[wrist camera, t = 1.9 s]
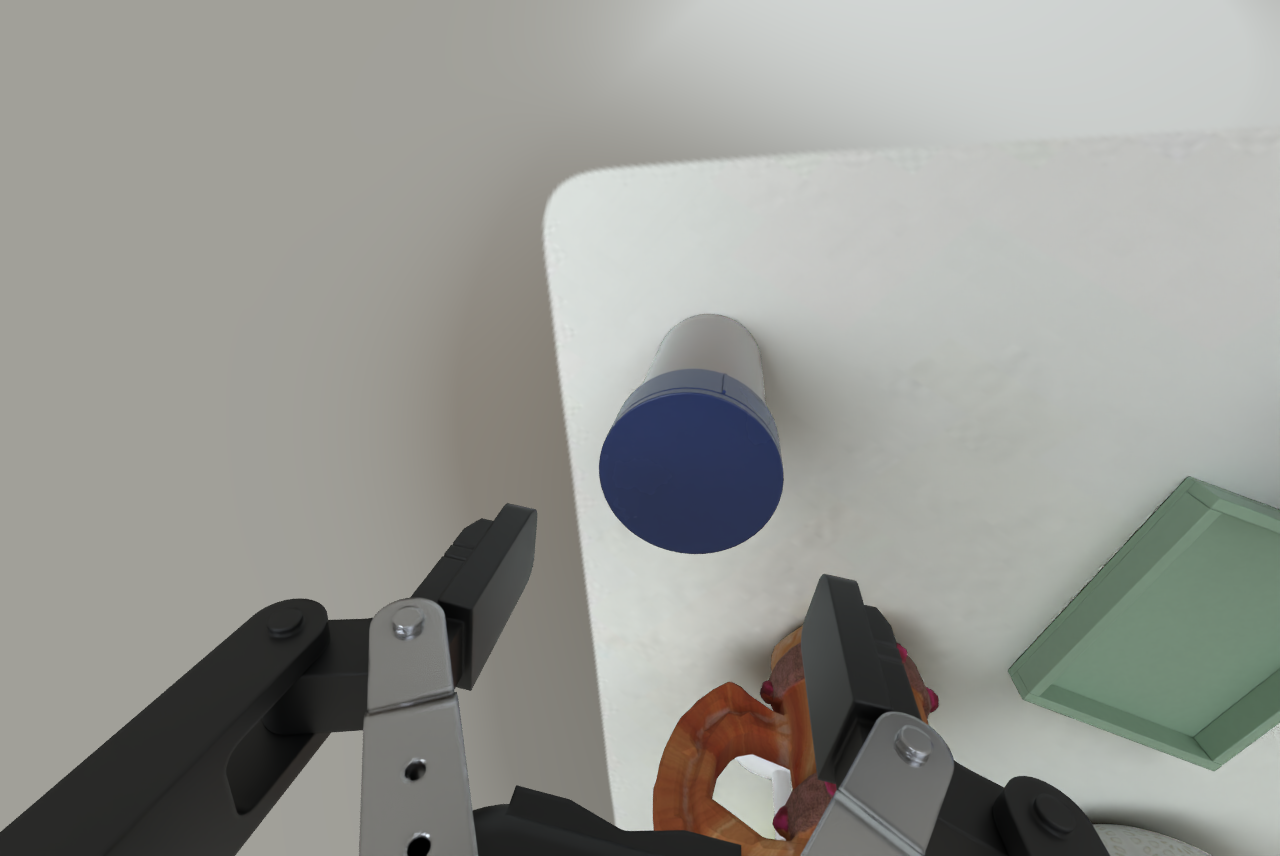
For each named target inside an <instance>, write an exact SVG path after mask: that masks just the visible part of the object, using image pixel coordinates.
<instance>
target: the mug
mask: <svg viewBox="0 0 1280 856" xmlns="http://www.w3.org/2000/svg"><path fill="white" fill-rule="evenodd" d="M802 628H803V626H801V627H800V628H798V629H797V630H795V631H794V632H792V633H791V634H789V635H788V636H786V637H785V638H783V639H782V640H781V641H780V642H779V643H778V644H777V645H776V646H775V648H774V651H773V653H772V655H771V671H772V673H771V675H770V678H769V680H768V681H765V682H763V685H762V688H761V690H760V695H761V698H762V699H763V700H764V701H765V702H766V703H767V704H771V706H772V709H773V711H772V710H770V709H769V708H767V707H766V706H765V705H763V704H762V703H760V702H759V701H757V700H756V699H754V698H753V697H752V696H750V695H749V694H748V693H747V692H746V691H745V690H744V689H743V688H742V687H741V686H739V685H737V684H735V683H733V682H727V683H725V684H723V685H721V686H719V687H717V688H715V689H713V690H712V691H711V692H709V693H708V694H706V695H705V696H704V697H702V698H701V699H700V700H698V701H697V702H696V703H695V704H694V705H693V706H692V707H691V709H690V710H688V711H687V712H686V713H685V714H684V715H683V716H682V717H681V718H680V720H679V722H678V723H677V725H676V727H675V729H674V731H673V733H672V735H671V737H670V739H669V741H668V743H667V745H666V747H665V749H664V752H663V755H662V758H661V761H660V765H659V770H658V775H657V779H656V783H655V786H654V790H653V824H654V831H663V830H686V831H690V832H694V833H698V834H701V835H705V836H709V837H713V838H717V839H720V840H724V841H728V842H732V843H735V844H739V845H741V856H800V855H801V853H802V851H803V850H804V848H805V846H806V844H807V842H808V841H809V839H810V837H811V835H812V833H813V832H814V830H815V828H816V826H817V824H818V823H819V821H820V819H821V817H822V815H823V814H824V812H825V810H826V808H827V806H828V804H829V803H830V801H831V799H832V797H833V796H834V794H835V792H836V790H837V788H836V784H833V783H829V782H825V781H821V780H818V778H817V770H816V762H815V754H814V746H813V738H812V731H811V723H810V715H809V707H808V699H807V691H806V683H805V676H804V668H803V660H802V652H801V634H802ZM896 643H897V642H896ZM897 648H898V649H899V652H900V655H901V658H902V664H904V667H905V670H906V673H907V676H908V679H909V682H910V685H911V688H912V691H913V694H914V697H915V700H916V703H917V706H918V709H919V712H920V715H921V718H922V721H923V722H925V723H926V724H928V721H927V718H928V715H929V713H930V712H933V711H935V710H936V709H937V708H938V702H939V700H938V696H937V695H936V694H935V693H934V692H933V691H932V690H931V689H929V688H927V687H925V685H924V682H923V680H922V678H921V676H920V674H919V672H918V669H917V667H916V665H915V664H914V662H913V661H912V660H911V659H910V658H909V657H908V656H907V651H906V649H905V648H903V647H902V646H901V645H900V644H898V643H897ZM928 725H929V724H928ZM745 755H755V756H757V757H760V758H762V759H765V760H767V761H770V762H772V763H775V764H777V765H779V766H782V767H784V768H786V769H788V770H790V774H791V782H792V788H793V791H792V792H791V794H790V796H789V798H788V800H787V802H786V804H785V805H784V806H782V807H781V808H780V809H779V810H778V812H777V813H776V815H775V816H774V819H773V826H774V828H775V830H776V831H777V833H778V834H779V835H780V836H781V837H783V838H785V839H786V841H784V840H774V839H766V838H764V837H762V836H760V835H759V834H758V833H757V832H755V831H754V830H753V829H751V828H750V827H749V826H748V825H746V824H745V823H744V822H742V821H741V820H740V819H739V818H737V817H736V816H735V815H733V814H732V813H731V812H729V811H728V810H727V809H725V808H724V807H722V806H721V805H720V804H718V803H717V802H716V801H714V800H713V799H712V796H713V791H714V787H715V783H716V779H717V778H718V776H719V775H720V774H721V772H722V771H723V770H724V769H725V767H726V766H727V765H728V763H729V762H730V761H731V760H733V759H734V758H736V757H739V756H745Z"/></svg>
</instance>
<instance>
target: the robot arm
mask: <svg viewBox="0 0 1280 856" xmlns="http://www.w3.org/2000/svg"><path fill="white" fill-rule="evenodd" d="M536 527H537V511H536V509H532V508H527V507H522V506H518V505H513V504H509V503H507V504H506V505H505V506H504V507H503V508H502V510H501V511H500V513H499V514H498V515H497V517H496V518H495V520H494V521H491V520H486V519H480V520H478V521H476V522H475V523H473V524H471V525H469V526H468V527H466V528H464V530H463V531H462V532H461V533H460V535H459V536H458V537H457V538H456V540H455V541H454V542H453V545H451V546H450V547H449V549H448V550H447V551H446V553H445V555H444V557H442V558H441V559H440V560H439V561H438V563H437V564H436V565H435V567H434V568H433V569H432V571H431V572H430V573H429V574H428V576H427V577H426V578H425V579H424V581H423V582H422V583H421V585H420V586H419V587H418V588H417V590H416V591H415V592H414V594H413V595H412V596H411V597H410V598H405V599H401V600H398V601H395V602H393V603H390V604H389V605H387V606H385V607H383V608H382V609H381V610H380V611H379V612H378V613H377V614H376V615H375V616H374V618H369V619H349V620H348V619H346V620H328V616H327V611H326V610H325V608H324V607H323V606H322V605H321V604H320V603H318V602H316V601H313V600H309V599H290V600H284V601H281V602H277V603H275V604H272V605H270V606H268V607H265V608H264V609H262V610H260V611H259V612H257V613H256V614H255V615H254V616H253V617H251V618H250V619H249V620H248V621H247V622H245V623H244V624H243V625H242V626H241V627H240V628H238V629H237V630H236V631H235V632H234V633H233V634H231V635H230V636H229V637H228V638H227V639H225V640H224V641H223V642H222V643H221V644H220V645H219V646H217V647H216V648H215V649H214V650H213V651H212V652H210V653H209V654H208V655H207V656H206V657H205V658H203V659H202V660H201V661H200V662H199V663H198V664H196V665H195V666H194V667H193V668H192V669H191V670H189V671H188V672H187V673H186V674H185V675H183V676H182V677H181V678H180V679H179V680H178V681H176V683H174V684H173V685H172V686H171V687H169V688H168V689H167V690H166V691H165V692H164V693H162V694H161V695H160V696H159V697H158V698H157V699H156V700H154V701H153V702H152V703H151V704H150V705H148V706H147V707H146V708H145V709H144V710H143V711H141V712H140V713H139V714H138V715H137V716H136V717H134V718H133V719H132V720H131V721H130V722H129V723H127V724H126V725H125V726H124V727H123V728H122V729H120V730H119V731H118V732H117V733H116V734H115V735H113V736H112V737H111V738H110V739H109V740H108V741H106V742H105V743H104V744H103V745H102V746H101V747H99V748H98V749H97V750H96V751H95V752H94V753H93V754H91V755H90V756H89V757H88V758H87V759H85V760H84V761H83V762H82V763H81V764H80V765H78V766H77V767H76V768H75V769H74V770H73V771H71V772H70V773H69V774H68V775H67V776H66V777H64V778H63V779H62V780H61V781H60V782H58V784H56V785H55V786H54V787H53V788H51V789H50V790H49V791H48V792H47V793H46V794H45V795H43V796H42V797H41V798H40V799H39V800H37V801H36V802H35V803H34V804H33V805H32V806H31V807H29V808H28V809H27V810H26V811H25V812H23V813H22V814H21V815H20V816H19V817H18V818H16V819H15V820H14V821H13V822H12V823H11V824H9V825H8V826H7V827H6V828H5V829H4V830H3V831H1V832H0V856H235V855H236V854H237V852H238V851H239V850H240V849H241V847H242V846H243V845H244V843H245V842H246V841H247V840H248V838H249V837H250V836H251V834H252V833H253V832H254V831H255V829H256V828H257V827H258V826H259V824H260V823H261V822H262V820H263V819H264V818H265V817H266V815H267V814H268V813H269V811H270V810H271V809H272V808H273V806H274V805H275V804H276V803H277V801H278V800H279V799H280V797H281V796H282V795H283V794H284V792H285V791H286V790H287V788H288V787H289V786H290V785H291V783H292V782H293V781H294V779H295V778H296V777H297V776H298V774H299V773H300V772H301V771H302V769H303V768H304V767H305V765H306V764H307V763H308V762H309V760H310V759H311V758H312V756H313V755H314V754H315V752H316V751H317V750H318V749H319V747H320V746H321V745H322V744H323V742H324V741H325V740H326V738H327V737H328V736H329V735H330V733H331V732H343V731H357V730H363V756H362V785H361V815H360V844H359V856H741V845H739V844H735V843H732V842H728V841H724V840H720V839H717V838H713V837H709V836H705V835H701V834H698V833H694V832H690V831H686V830H663V831H625V830H621V829H619V828H617V827H616V826H614V825H612V824H611V823H609V822H607V821H605V820H604V819H602V818H600V817H599V816H597V815H595V814H593V813H592V812H590V811H588V810H587V809H585V808H583V807H582V806H580V805H578V804H576V803H575V802H573V801H572V800H569V799H566V798H562V797H558V796H554V795H551V794H547V793H543V792H539V791H535V790H532V789H528V788H524V787H520V786H516V787H515V790H514V793H513V796H512V799H511V801H510V804H500V805H494V806H488V807H483V808H480V809H477V810H473V811H472V803H471V795H470V787H469V779H468V773H467V764H466V756H465V748H464V740H463V733H462V724H461V718H460V709H459V701H458V696H457V692H454V689H455V687H458V688H462V689H466V690H470V691H471V690H472V688H473V686H474V684H475V682H476V680H477V678H478V676H479V675H480V673H481V671H482V669H483V667H484V665H485V663H486V661H487V659H488V657H489V655H490V654H491V651H492V650H493V648H494V646H495V644H496V642H497V640H498V638H499V636H500V634H501V632H502V631H503V628H504V627H505V625H506V623H507V621H508V619H509V617H510V615H511V613H512V611H513V609H514V608H515V606H516V604H517V602H518V600H519V598H520V596H521V594H522V592H523V590H524V588H525V586H526V584H527V582H528V580H529V577H530V574H531V571H532V567H533V561H534V553H535V539H536ZM801 652H802V660H803V668H804V676H805V683H806V691H807V699H808V707H809V715H810V723H811V731H812V738H813V746H814V754H815V762H816V770H817V778H818V780H821V781H825V782H829V783H833V784H836V788H837V790H836V792H835V794H834V796H833V797H832V799H831V801H830V803H829V804H828V806H827V808H826V810H825V812H824V814H823V815H822V817H821V819H820V821H819V823H818V824H817V826H816V828H815V830H814V832H813V833H812V835H811V837H810V839H809V841H808V842H807V844H806V846H805V848H804V850H803V851H802V853H801V855H800V856H1110V854H1109V853H1108V851H1107V849H1106V847H1105V846H1104V844H1103V842H1102V840H1101V839H1100V837H1099V835H1098V833H1097V832H1096V830H1095V828H1094V826H1093V825H1092V823H1091V822H1090V820H1089V819H1088V817H1087V816H1086V815H1085V814H1084V812H1083V811H1082V810H1081V809H1080V808H1079V807H1078V806H1077V805H1076V804H1075V803H1074V802H1073V801H1072V800H1071V799H1070V798H1069V797H1067V796H1066V795H1065V794H1064V793H1062V792H1061V791H1059V790H1058V789H1056V788H1055V787H1053V786H1052V785H1050V784H1048V783H1046V782H1044V781H1041V780H1039V779H1036V778H1033V777H1027V776H1018V777H1014V778H1012V779H1011V780H1009V782H1008V783H1007V785H1006V786H1005V787H1002V786H1000V785H998V784H996V783H994V782H992V781H990V780H988V779H986V778H984V777H982V776H980V775H978V774H976V773H975V772H973V771H971V770H969V769H967V768H965V767H964V766H962V765H960V764H959V763H957V762H956V761H954V760H953V756H952V754H951V751H950V749H949V747H948V746H947V744H946V743H945V741H944V740H943V739H942V737H941V736H940V735H939V734H938V733H937V732H936V731H935V730H934V729H933V728H931V727H930V726H929V725H928V724H926V723H925V722H923V721H922V718H921V715H920V712H919V709H918V706H917V703H916V700H915V697H914V694H913V691H912V688H911V685H910V682H909V679H908V676H907V673H906V670H905V667H904V664H902V658H901V655H900V652H899V649H898V648H897V643H896V640H895V637H894V634H893V631H892V628H891V626H890V624H889V623H888V622H887V620H886V619H885V618H884V617H883V615H882V614H881V613H880V612H879V610H878V609H877V608H876V607H871V606H867V605H864V604H863V600H862V597H861V593H860V590H859V586H858V583H857V582H856V581H854V580H850V579H845V578H841V577H836V576H832V575H827V574H823V575H822V576H821V577H820V579H819V582H818V585H817V587H816V590H815V593H814V595H813V598H812V601H811V604H810V606H809V609H808V612H807V615H806V617H805V620H804V623H803V628H802V634H801Z"/></svg>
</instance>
